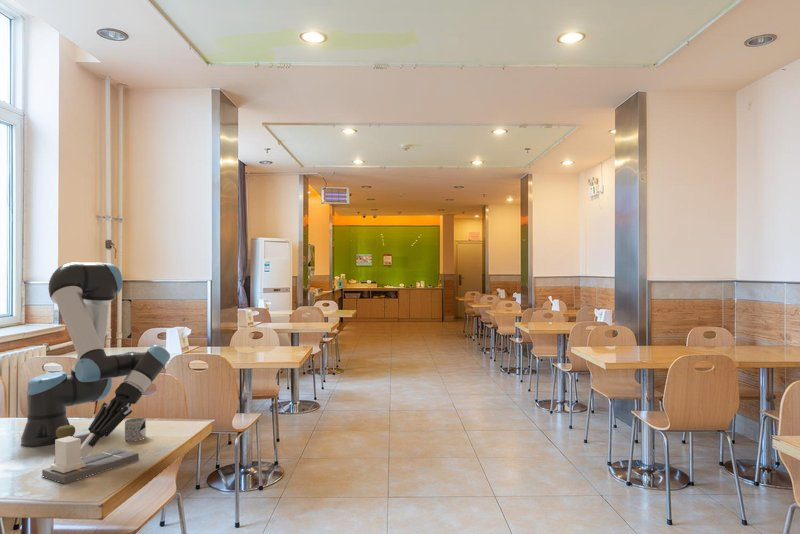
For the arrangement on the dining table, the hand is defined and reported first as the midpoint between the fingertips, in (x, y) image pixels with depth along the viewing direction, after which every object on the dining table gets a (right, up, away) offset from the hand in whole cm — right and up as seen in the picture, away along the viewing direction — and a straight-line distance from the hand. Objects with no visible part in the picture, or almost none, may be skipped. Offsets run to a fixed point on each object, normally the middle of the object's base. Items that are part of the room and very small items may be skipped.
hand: (79, 455), depth 153 cm
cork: (-11, -6, +10) cm, 16 cm away
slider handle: (-2, -3, -3) cm, 4 cm away
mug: (-1, -6, +34) cm, 35 cm away
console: (+2, -5, +3) cm, 6 cm away
